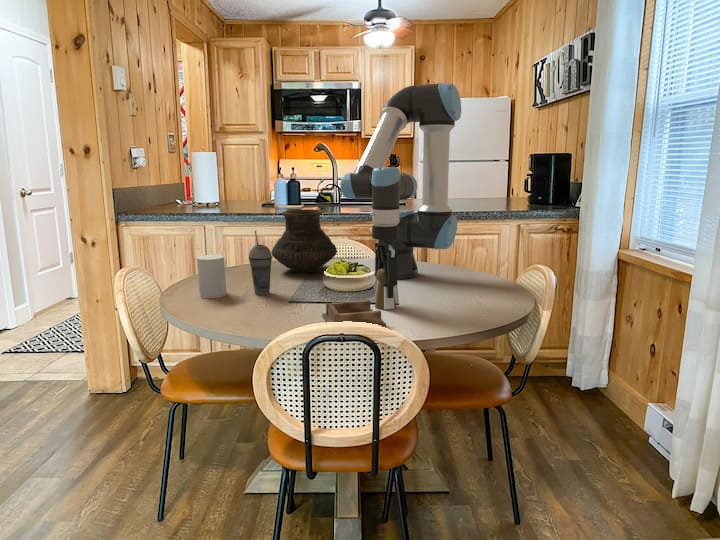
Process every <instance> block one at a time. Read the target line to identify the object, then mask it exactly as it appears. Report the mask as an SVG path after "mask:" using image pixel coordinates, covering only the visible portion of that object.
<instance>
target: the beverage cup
mask: <svg viewBox="0 0 720 540" xmlns="http://www.w3.org/2000/svg"><path fill="white" fill-rule="evenodd" d="M257 233H258V232H257V230H256V229H255V230H254V236H255V240H256V241H255V242H256V245H254V246H253V247H251V249H250V250H249V253H248V261H249V265H250V270H251V275H252V276H251V277H252V285H253V289H254V294H255V295H256V296H266V295H269V294H270V291H271V290H270V289H271V274H272V273H271V271H272V270H271V269H272V259H273V256H272V253H271V249H270V248H269V247H268V246H266V245H265V244H259V240H258V234H257Z"/></svg>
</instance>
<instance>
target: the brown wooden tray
mask: <svg viewBox="0 0 720 540" xmlns="http://www.w3.org/2000/svg"><path fill="white" fill-rule="evenodd" d="M321 316H322V318H323V320H324V322H325V323H326V322H343V321H352V322H366V323H372V324H378V325H382V326H381V327H386V326H387V323H386V322H385V321H384V320H383V319H382V310H381V309H378V310H373V309H371V300H370V299H366V300H352V301H340V302H339V301H338V302H328V303H327V302H326V303H325V313H323V312H322V313H321Z"/></svg>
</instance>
